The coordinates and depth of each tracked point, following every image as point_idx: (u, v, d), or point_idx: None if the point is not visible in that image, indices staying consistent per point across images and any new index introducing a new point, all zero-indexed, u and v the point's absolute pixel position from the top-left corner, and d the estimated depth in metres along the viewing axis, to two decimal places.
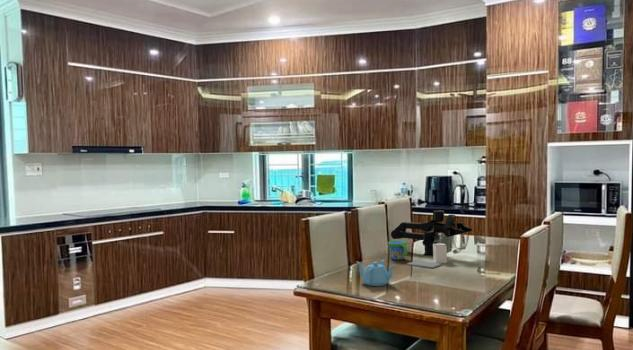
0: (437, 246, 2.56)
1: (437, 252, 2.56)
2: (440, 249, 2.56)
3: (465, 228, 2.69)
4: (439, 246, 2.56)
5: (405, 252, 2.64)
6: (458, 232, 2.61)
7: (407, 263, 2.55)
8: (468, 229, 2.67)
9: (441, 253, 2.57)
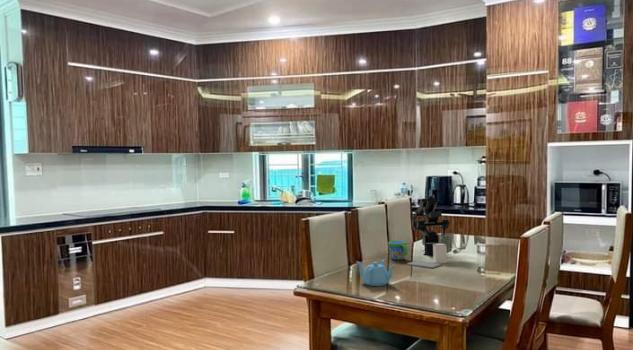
0: (437, 246, 2.56)
1: (437, 252, 2.56)
2: (440, 249, 2.56)
3: (442, 229, 2.70)
4: (439, 246, 2.56)
5: (405, 252, 2.64)
6: (425, 232, 2.69)
7: (407, 263, 2.55)
8: (443, 232, 2.69)
9: (441, 253, 2.57)
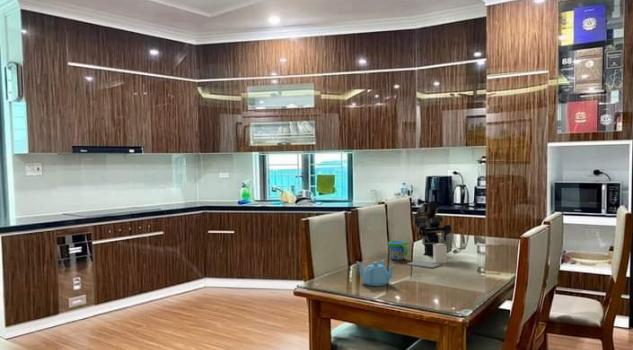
0: (437, 246, 2.56)
1: (437, 252, 2.56)
2: (440, 249, 2.56)
3: (444, 235, 2.66)
4: (439, 246, 2.56)
5: (405, 252, 2.64)
6: (426, 238, 2.66)
7: (407, 263, 2.55)
8: (444, 238, 2.65)
9: (441, 253, 2.57)
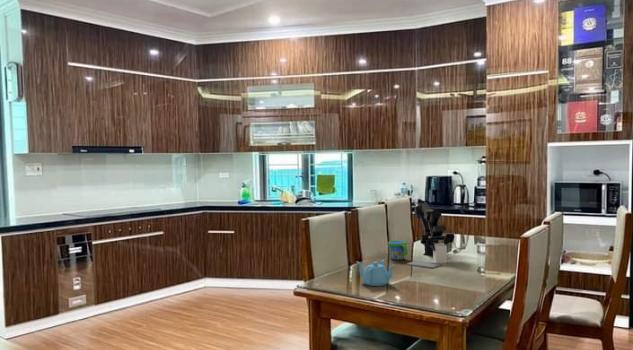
0: (437, 246, 2.56)
1: (437, 252, 2.56)
2: (440, 249, 2.56)
3: None
4: (439, 246, 2.56)
5: (405, 252, 2.64)
6: (431, 247, 2.60)
7: (407, 263, 2.55)
8: None
9: (441, 253, 2.56)
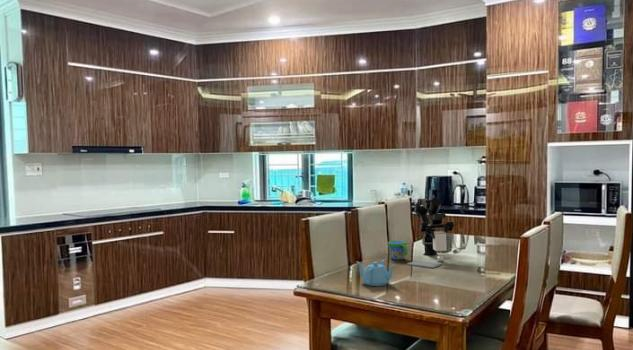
0: (437, 234, 2.56)
1: (437, 240, 2.56)
2: (440, 237, 2.56)
3: None
4: (439, 234, 2.56)
5: (405, 252, 2.64)
6: (431, 235, 2.60)
7: (407, 263, 2.55)
8: None
9: (441, 241, 2.56)
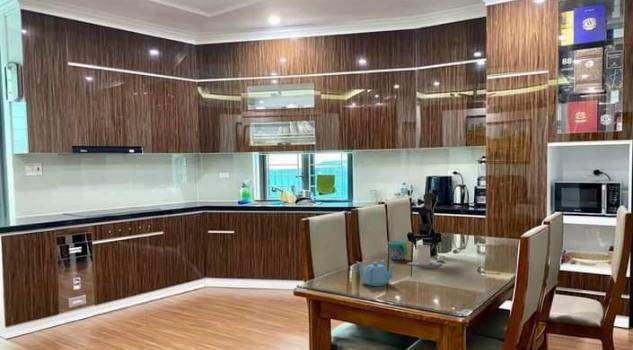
0: (419, 247, 2.51)
1: (419, 253, 2.51)
2: (422, 250, 2.50)
3: None
4: (421, 247, 2.50)
5: (405, 252, 2.64)
6: None
7: (407, 263, 2.55)
8: None
9: (423, 255, 2.50)
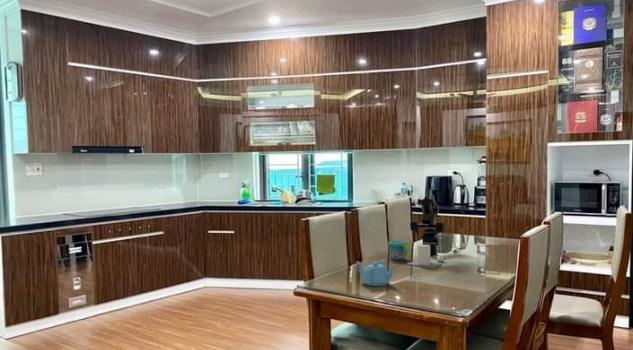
0: (419, 247, 2.51)
1: (419, 253, 2.51)
2: (422, 250, 2.50)
3: (435, 232, 2.61)
4: (421, 247, 2.50)
5: (405, 252, 2.64)
6: (416, 234, 2.64)
7: (407, 263, 2.55)
8: (434, 235, 2.60)
9: (423, 255, 2.50)
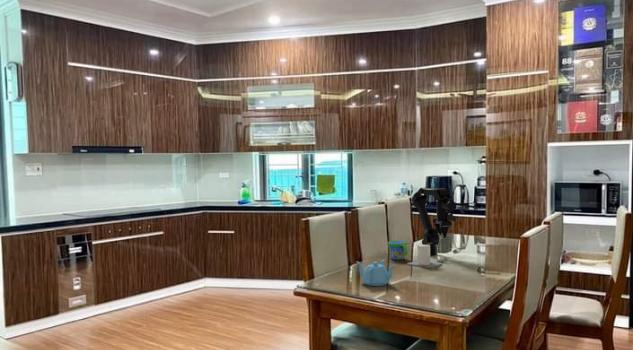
0: (419, 247, 2.51)
1: (419, 253, 2.51)
2: (422, 250, 2.50)
3: None
4: (421, 247, 2.50)
5: (405, 252, 2.64)
6: (444, 233, 2.62)
7: (407, 263, 2.55)
8: (440, 231, 2.72)
9: (423, 255, 2.50)
